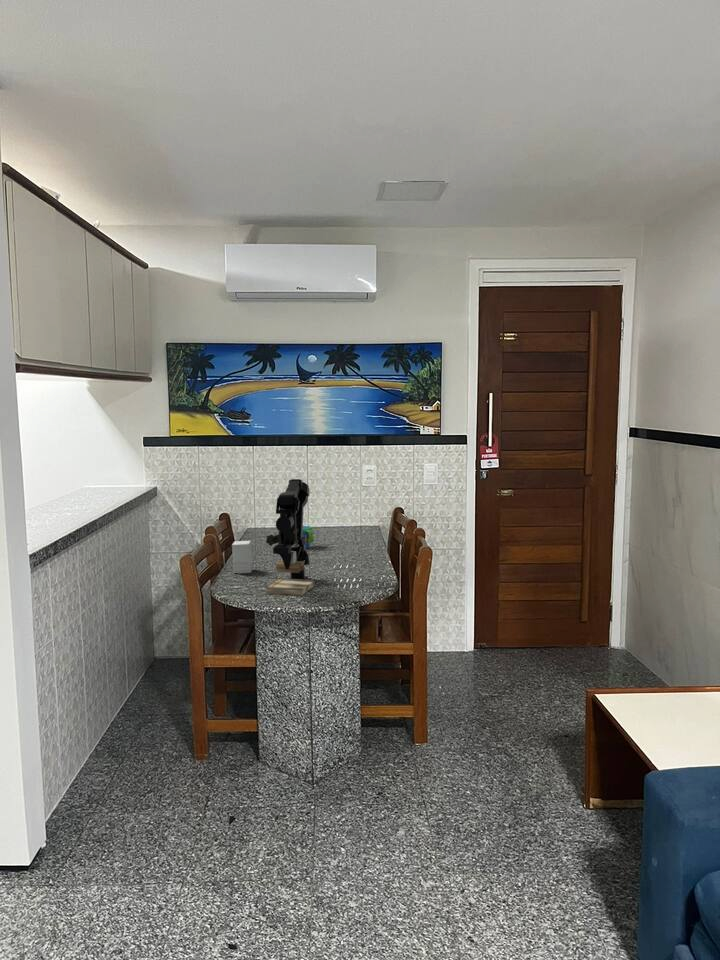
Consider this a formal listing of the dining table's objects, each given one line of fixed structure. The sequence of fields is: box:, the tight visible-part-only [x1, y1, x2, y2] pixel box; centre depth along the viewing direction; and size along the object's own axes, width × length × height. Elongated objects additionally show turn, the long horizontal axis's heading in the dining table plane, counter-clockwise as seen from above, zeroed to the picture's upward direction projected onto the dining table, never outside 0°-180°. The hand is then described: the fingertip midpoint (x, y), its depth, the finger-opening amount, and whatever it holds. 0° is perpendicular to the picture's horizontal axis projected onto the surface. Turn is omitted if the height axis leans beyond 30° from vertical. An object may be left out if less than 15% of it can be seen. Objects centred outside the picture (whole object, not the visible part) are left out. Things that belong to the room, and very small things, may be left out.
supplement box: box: [231, 540, 253, 574], centre depth 303 cm, size 7×7×13 cm
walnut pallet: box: [275, 560, 305, 573], centre depth 272 cm, size 6×9×3 cm, turn 74°
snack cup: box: [302, 525, 315, 550], centre depth 348 cm, size 16×10×10 cm
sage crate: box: [283, 551, 296, 564], centre depth 272 cm, size 4×4×4 cm
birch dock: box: [266, 578, 315, 596], centre depth 273 cm, size 14×14×2 cm
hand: (290, 567), depth 272 cm, fingers closed on walnut pallet, 6 cm apart
